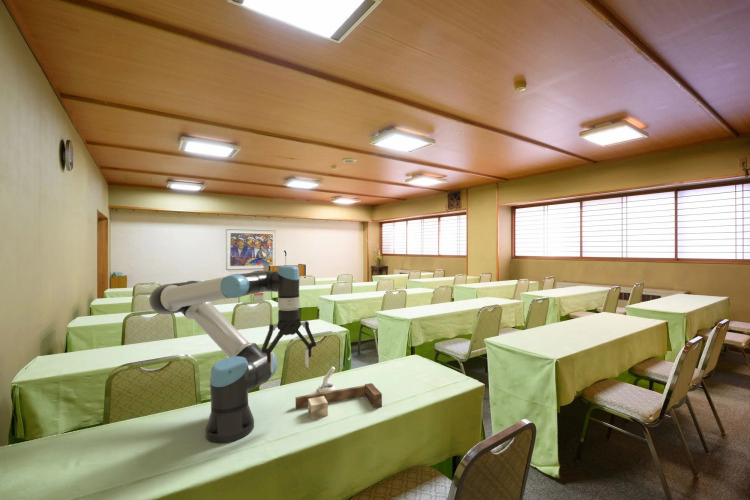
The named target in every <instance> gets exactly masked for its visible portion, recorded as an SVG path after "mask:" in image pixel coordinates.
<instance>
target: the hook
mask: <svg viewBox="0 0 750 500" xmlns="http://www.w3.org/2000/svg"><path fill="white" fill-rule="evenodd" d="M335 370H336V368H335V366H331V368H329V370H328V372H327V373H326V375H325V376H324V377H323V379H322V383H321V384H319V386H318V388H317V392H318V393H322V392H328V391H334V390H336V386H335V384H334V383H331V382H329V379H330V378H331V376H332V375H333V373H334V372H335ZM324 387H326V388H324ZM327 387H328V388H327Z"/></svg>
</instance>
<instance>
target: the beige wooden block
mask: <svg viewBox="0 0 750 500" xmlns="http://www.w3.org/2000/svg"><path fill="white" fill-rule="evenodd" d="M328 404H329V403H328V402H327V401H326V399H325V397H324V396H321V397H315V398H310V399H308V407H307V409H308V415H309V417H310V419H311V420H314V419H318V418H319V419H320V418H324V417H328V416H329V411H328V408H329V405H328Z"/></svg>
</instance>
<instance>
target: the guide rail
mask: <svg viewBox="0 0 750 500" xmlns="http://www.w3.org/2000/svg"><path fill="white" fill-rule="evenodd" d="M321 396H324V397H325V399H326V401H327V402H328V404H331V403H336V402H343V401H347V400H348V401H349V400H352V399H357V398H364V397H365V398H366V400H368V401H369V403H370V404H371V405H372V407H373V408H374V409H377V408H382V407H383V397H382V396H383V393H382V392H381V391H380V390H379V389H378V388H377V387H376V386H375V385H374V383H371V382H369V383H364V384H363V385H357V386H352V387H347V388H340V389H335V390H334V391H328V392H322V393H321V392H317V393H311V394H306V395H300V396H295V409H296V410H298V409H299V410H300V409H303V408H304V409H305V408H308V399H310V398H315V397H321Z"/></svg>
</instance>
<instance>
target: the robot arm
mask: <svg viewBox="0 0 750 500" xmlns="http://www.w3.org/2000/svg"><path fill="white" fill-rule="evenodd" d="M300 279H301V278H300V270H299V267H298V266H297V265H280V266H278V267H277V270H275V271H273V270H261V269H260V270H253V271H251V272H246V273H245V272H244V273H233V274H229V275H227V276H222V277H217V278H212V279H208V280H202V281H201V280H188V281H184V282H183V281H182V282H175V283H165V284H162V285H159V286H158V287H156V288H154V290H153V291H152V292H151V294H150V295H149V299H148V300H149V305H150V307H151V309H152V310H153V311H154V312H156V313H158V314H160V315H172V314H173V315H174V314H178V313H182V315H184V317H186V319H187V320H194V322H195V323H197V325H199V327H200V328H201V329H202V330H203V331H204V332H205V333H206V334H207V335H208V337H210V339H211V340H212V341H213V342H214V343H215V344H216V345H217V346H218V348H220V349H221V351H222V352H223V353H224V354H225V355H226V356H227V357H228V358H223V359H221V360H219V361H217V362H216V363H214V364H213V366H212V367H211V369H210V378H209V386H210V387H209V389H210V414H209V417H208V420H207V424H206V426H205V438H206V440H207V441H209V442H211V443H216V444H224V443H230V442H235V441H237V440H241V439H242V438H244V437H246V436H247V435H249V434H250V433H252V431H253V430H254V427H255V419H254V415H253V413H252V410H251V407H250V406H249V392H250V391H252V390H253V389H255V388H257V387H259V386H260V385H262V384H264V383H266V382H268V381H269V380H270V379H271V378H272V377H274V375H276V371H277V369H278V364H277V363H278V360H277V357H276V354H275V352H274V351H273V350H274V349H275V347H276V346H277V345H278V343H279V341H280V340H281V338H283V336H289V335H290V336H292V335H297V336H298V338H299V339H300V340H301V341H302V343H304V345H305V346H306V347H304V364H305V365H304V366H305V367H306V368H309V366H310V365H309V363H310V361H309V359H310V358H311V357H312V349H313V348H315V347H316V346H317V343H316V340H315V339H314V335H313V334H312V331H311V329H310V323H309V322H308V320H306V319H305V320H304V321H301V319H300V317H301V316H300V315H301V313H300V312H301V311H300ZM264 292H277V308H278V311H277V316H278V317H277V319H278V322H277V323H276V324H275V323H274V324H273V323H269V325H268V332H267V334H266V337H265V338H264V341H263V344H262V347H260V345H258V344H257V343H256V342H249V340H248V339H246V338H245V337H244V336H243V334H241V333H240V332H239V330H238V329H236V327H235V326H234V325H233V324H232V323H231V322H230V321H229V320H228V319H227V318H226V317H225V316H224V315H223V314H222V313H221V312H220V311H219V310H218V309H217V307H215V305H214V304H213V302H217V301H221V300H227V299H239V298H241V297H245V296H249V295H255V294H260V293H264ZM301 326H302V327H303V328H304V329H305V332H306V334H307V336H308V338H309V341H310V342H309V341H308V340H307V339H306V338H305V337H304V336H303V334H302V333H301V332H300V328H301ZM276 329H278V330H279V331H278V332H277V334H276V335H275V337H274V339H273V340H272V342H271V343H270V341H271V338H272V336H273V333H274V331H276ZM269 344H270V345H269Z"/></svg>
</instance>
